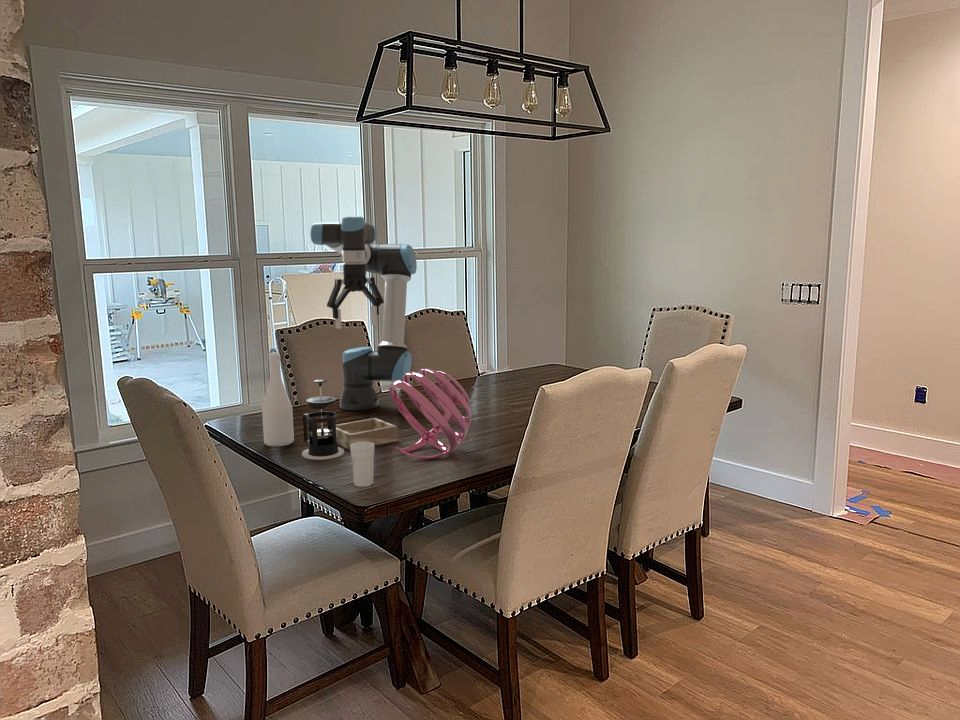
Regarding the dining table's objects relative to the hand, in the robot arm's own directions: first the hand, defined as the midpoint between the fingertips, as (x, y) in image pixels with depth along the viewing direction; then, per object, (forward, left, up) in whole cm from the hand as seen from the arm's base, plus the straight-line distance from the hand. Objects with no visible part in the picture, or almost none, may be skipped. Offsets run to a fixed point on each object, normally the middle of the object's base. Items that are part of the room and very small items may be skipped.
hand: (356, 326), depth 257 cm
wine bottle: (-4, -28, -37) cm, 46 cm away
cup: (+49, -26, -37) cm, 66 cm away
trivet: (+16, -22, -37) cm, 45 cm away
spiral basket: (+37, +5, -37) cm, 52 cm away
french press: (+16, -22, -36) cm, 45 cm away
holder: (+11, -5, -37) cm, 38 cm away
